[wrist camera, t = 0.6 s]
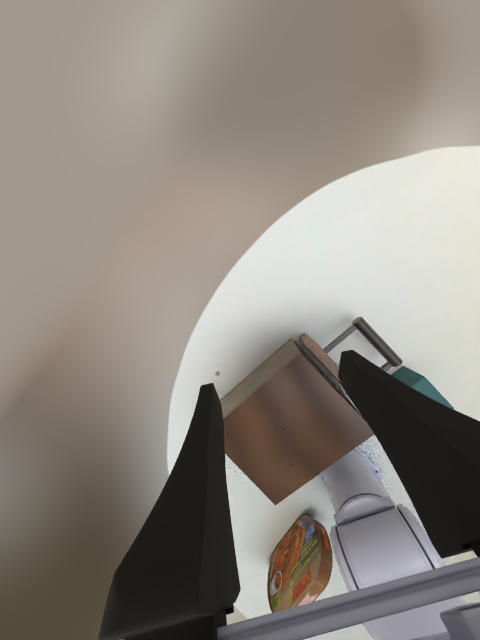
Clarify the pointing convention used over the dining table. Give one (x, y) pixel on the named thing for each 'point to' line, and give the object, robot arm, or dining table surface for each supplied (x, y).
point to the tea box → (420, 384)
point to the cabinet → (288, 423)
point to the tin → (299, 565)
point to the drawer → (357, 324)
